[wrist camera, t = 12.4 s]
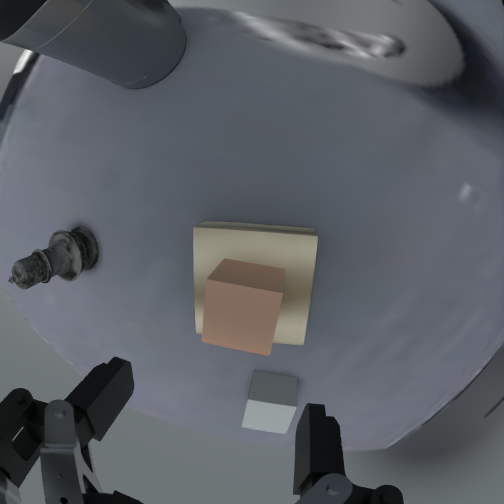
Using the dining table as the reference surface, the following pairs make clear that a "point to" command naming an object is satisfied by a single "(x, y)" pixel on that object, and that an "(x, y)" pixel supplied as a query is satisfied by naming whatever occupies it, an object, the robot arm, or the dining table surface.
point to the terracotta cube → (242, 306)
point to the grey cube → (271, 402)
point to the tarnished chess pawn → (57, 259)
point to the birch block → (264, 253)
